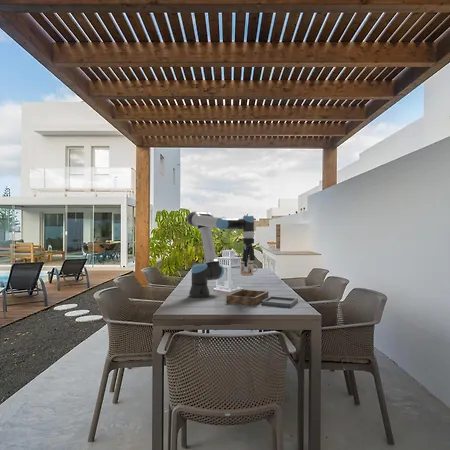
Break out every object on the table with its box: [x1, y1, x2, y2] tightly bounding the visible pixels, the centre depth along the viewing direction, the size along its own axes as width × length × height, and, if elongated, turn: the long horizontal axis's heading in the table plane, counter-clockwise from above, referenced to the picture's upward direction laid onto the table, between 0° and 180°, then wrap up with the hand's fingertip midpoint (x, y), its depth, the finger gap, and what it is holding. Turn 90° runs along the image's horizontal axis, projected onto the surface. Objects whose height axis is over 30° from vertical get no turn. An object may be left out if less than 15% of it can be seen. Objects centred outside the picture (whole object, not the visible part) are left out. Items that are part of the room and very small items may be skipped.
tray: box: [260, 295, 299, 309], centre depth 226 cm, size 19×19×2 cm
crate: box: [225, 289, 269, 306], centre depth 235 cm, size 20×26×5 cm
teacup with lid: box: [240, 259, 259, 277], centre depth 236 cm, size 12×9×12 cm
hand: (248, 270), depth 235 cm, fingers closed on teacup with lid, 9 cm apart
